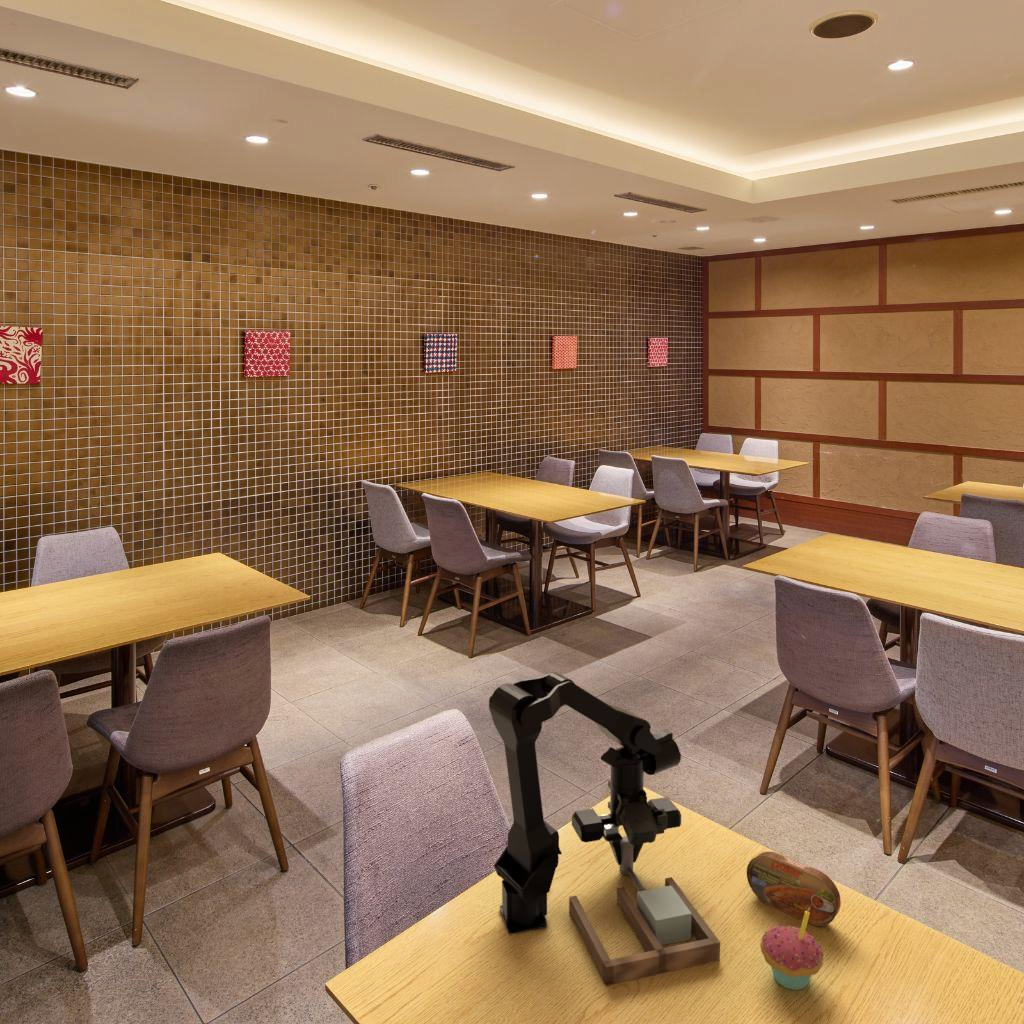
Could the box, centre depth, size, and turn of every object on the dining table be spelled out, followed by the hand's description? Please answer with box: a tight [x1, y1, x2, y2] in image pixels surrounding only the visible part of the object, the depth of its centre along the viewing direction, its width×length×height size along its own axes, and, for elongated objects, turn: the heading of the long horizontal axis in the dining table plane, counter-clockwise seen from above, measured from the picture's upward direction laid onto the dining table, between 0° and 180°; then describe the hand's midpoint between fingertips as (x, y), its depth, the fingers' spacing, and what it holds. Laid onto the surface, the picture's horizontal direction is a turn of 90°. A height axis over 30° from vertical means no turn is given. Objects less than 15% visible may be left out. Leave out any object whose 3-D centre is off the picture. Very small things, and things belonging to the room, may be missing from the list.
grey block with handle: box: [619, 835, 692, 946], centre depth 129 cm, size 6×20×6 cm, turn 15°
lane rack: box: [568, 876, 721, 986], centre depth 121 cm, size 18×16×3 cm
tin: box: [746, 851, 842, 927], centre depth 126 cm, size 15×3×8 cm, turn 47°
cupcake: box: [760, 907, 824, 991], centre depth 111 cm, size 9×8×12 cm
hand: (625, 862), depth 137 cm, fingers closed on grey block with handle, 2 cm apart
